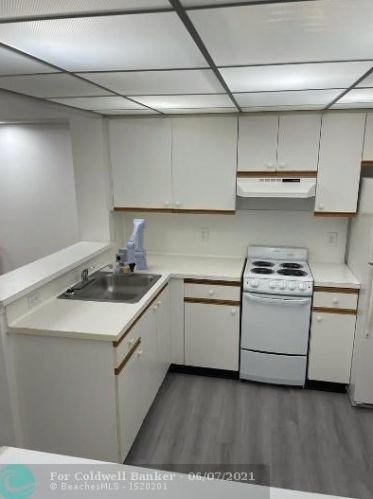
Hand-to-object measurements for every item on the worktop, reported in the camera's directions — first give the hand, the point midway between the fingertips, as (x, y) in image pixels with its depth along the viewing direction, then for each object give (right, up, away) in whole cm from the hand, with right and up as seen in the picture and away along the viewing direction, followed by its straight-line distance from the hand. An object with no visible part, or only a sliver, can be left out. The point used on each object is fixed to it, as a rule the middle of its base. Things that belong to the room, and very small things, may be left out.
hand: (132, 271), depth 298 cm
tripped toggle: (-5, -1, 0) cm, 5 cm away
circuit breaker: (-13, +4, +29) cm, 32 cm away
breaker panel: (-9, -1, +6) cm, 11 cm away
